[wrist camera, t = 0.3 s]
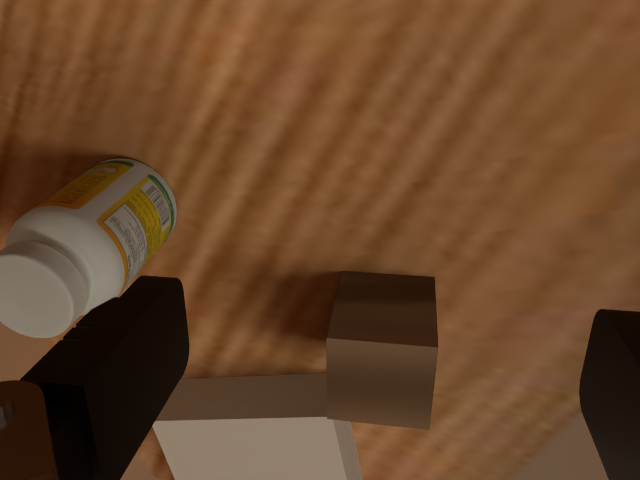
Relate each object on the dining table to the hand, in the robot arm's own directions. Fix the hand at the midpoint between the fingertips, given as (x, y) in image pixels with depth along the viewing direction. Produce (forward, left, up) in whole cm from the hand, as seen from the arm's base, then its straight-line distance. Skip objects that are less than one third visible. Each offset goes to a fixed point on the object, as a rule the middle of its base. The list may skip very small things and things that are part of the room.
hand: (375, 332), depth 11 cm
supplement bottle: (+6, -14, -18) cm, 23 cm away
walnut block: (+12, 0, -18) cm, 21 cm away
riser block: (+23, -7, -18) cm, 30 cm away
